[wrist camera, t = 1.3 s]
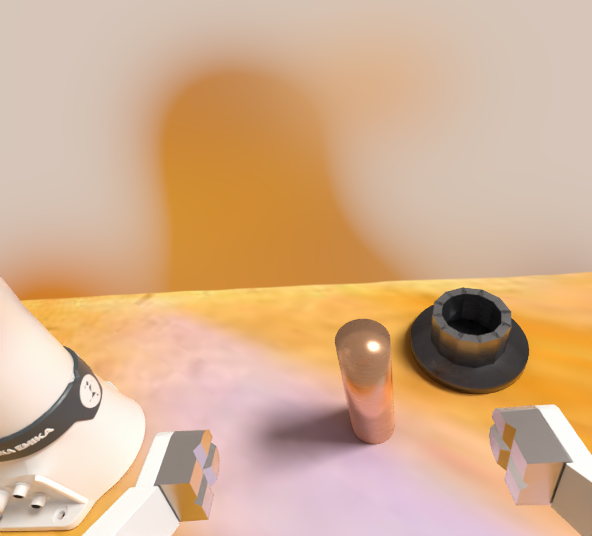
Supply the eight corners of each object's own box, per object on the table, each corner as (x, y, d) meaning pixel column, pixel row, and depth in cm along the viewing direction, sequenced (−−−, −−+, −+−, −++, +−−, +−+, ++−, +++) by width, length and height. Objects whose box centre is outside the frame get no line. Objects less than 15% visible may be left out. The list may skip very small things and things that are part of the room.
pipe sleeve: (437, 406, 45) (441, 376, 41) (395, 320, 56) (394, 289, 51) (552, 377, 45) (567, 344, 41) (488, 296, 56) (494, 263, 51)
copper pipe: (358, 448, 43) (342, 369, 33) (346, 409, 47) (329, 326, 37) (400, 438, 43) (398, 354, 33) (385, 399, 47) (379, 313, 37)
